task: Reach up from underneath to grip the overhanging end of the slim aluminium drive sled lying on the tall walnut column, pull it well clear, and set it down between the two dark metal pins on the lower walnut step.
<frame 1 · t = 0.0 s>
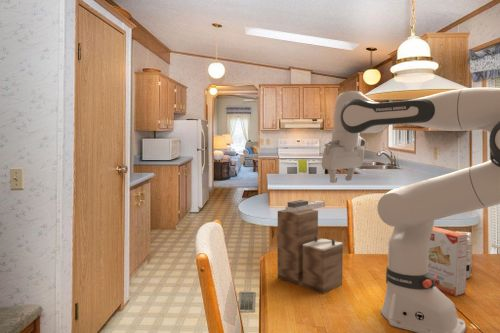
hand: (340, 181, 126), 39 cm above the table, tool pointing down, fingers open, 8 cm apart
stepped wooden blocks: (309, 281, 140), on the table
syrup box: (462, 267, 156), on the table
supplement can: (458, 276, 146), on the table
cracker box: (441, 288, 133), on the table
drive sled: (305, 209, 146), point 26 cm above the table, touching stepped wooden blocks
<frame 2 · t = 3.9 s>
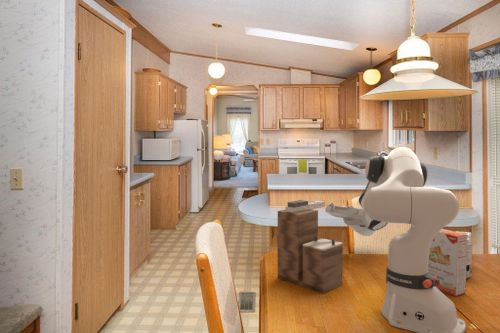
hand: (339, 205, 163), 24 cm above the table, tool pointing upward, fingers open, 8 cm apart
nothing on the table moved.
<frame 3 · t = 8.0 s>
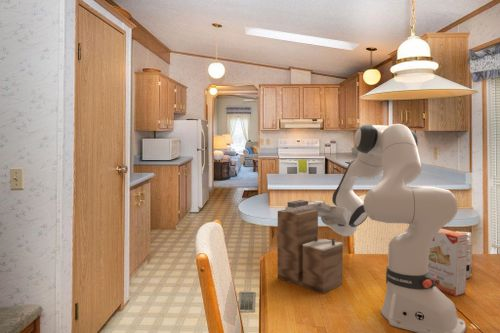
hand: (315, 203, 150), 27 cm above the table, tool pointing upward, fingers closed on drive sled, 4 cm apart
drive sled: (305, 209, 146), point 26 cm above the table, touching gripper, stepped wooden blocks
everything else where it was.
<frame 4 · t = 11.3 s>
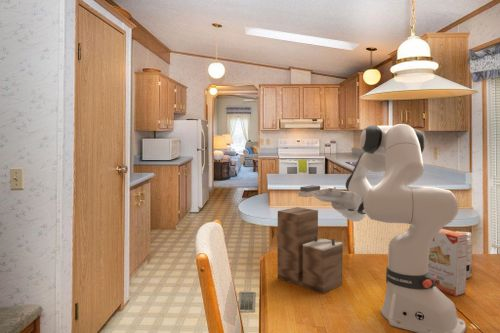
hand: (326, 188, 156), 33 cm above the table, tool pointing upward, fingers closed on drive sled, 4 cm apart
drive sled: (317, 193, 151), point 31 cm above the table, touching gripper
everything else where it was.
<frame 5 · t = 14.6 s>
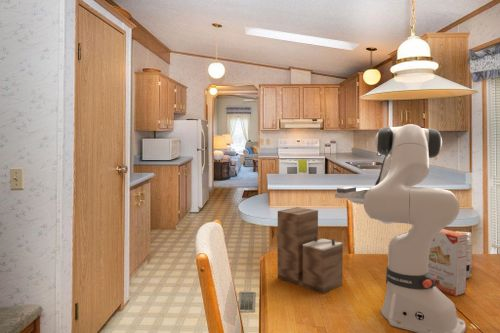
hand: (361, 190, 153), 32 cm above the table, tool pointing upward, fingers closed on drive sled, 4 cm apart
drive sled: (353, 195, 149), point 31 cm above the table, touching gripper
everything else where it was.
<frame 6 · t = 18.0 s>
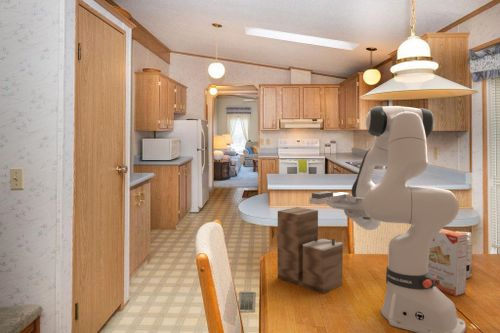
hand: (339, 195, 142), 32 cm above the table, tool pointing upward, fingers closed on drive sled, 4 cm apart
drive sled: (330, 200, 137), point 31 cm above the table, touching gripper
everything else where it was.
when the fingers open (19 cm above the table, at t = 21.3 s): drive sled drops 2 cm, resting on stepped wooden blocks.
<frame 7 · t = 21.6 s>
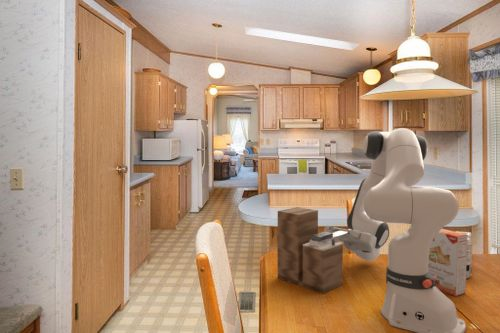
hand: (339, 229, 142), 19 cm above the table, tool pointing upward, fingers open, 7 cm apart
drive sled: (330, 241, 138), point 15 cm above the table, touching stepped wooden blocks
everything else where it was.
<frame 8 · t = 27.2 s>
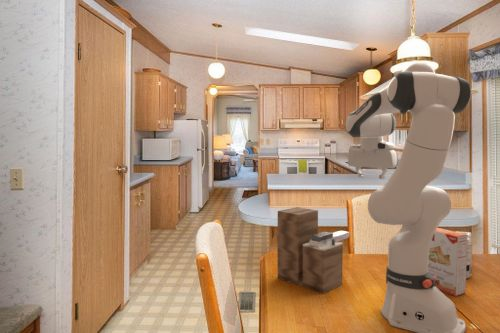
hand: (370, 178, 155), 37 cm above the table, tool pointing down, fingers open, 8 cm apart
nothing on the table moved.
at the end: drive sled 0.1 cm from the target spot, point 15.5 cm above the table; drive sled tilted 0°; the gripper is holding nothing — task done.
